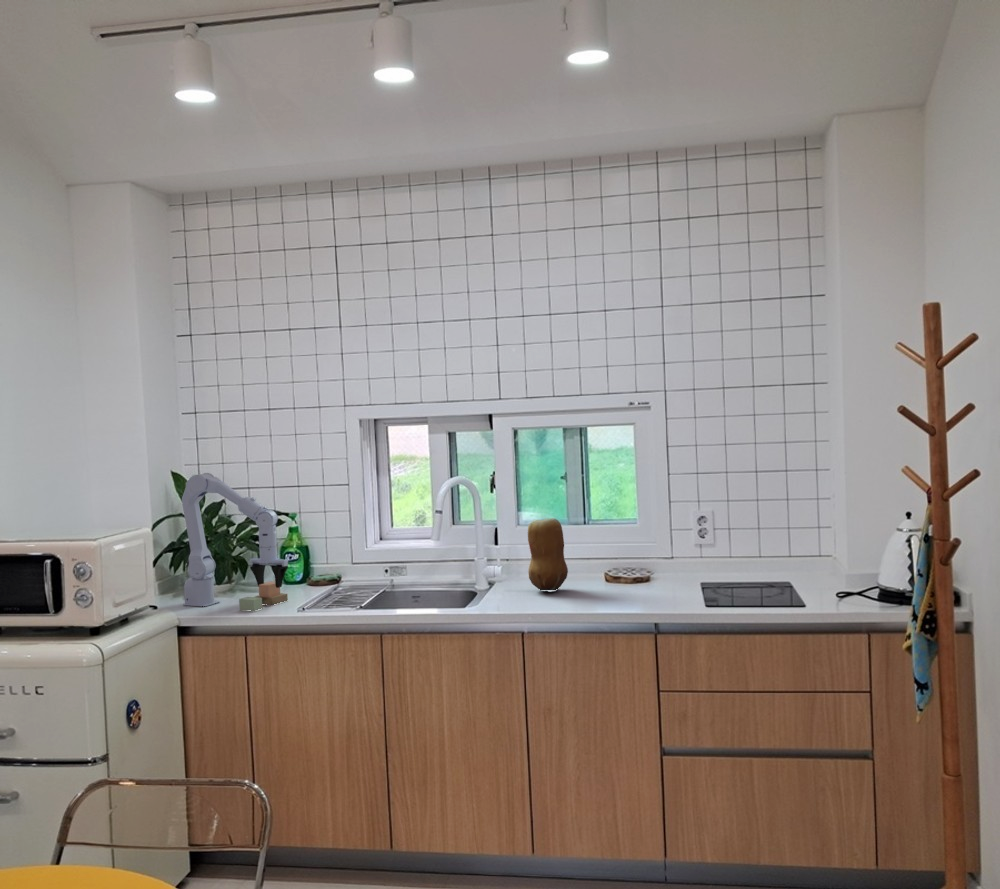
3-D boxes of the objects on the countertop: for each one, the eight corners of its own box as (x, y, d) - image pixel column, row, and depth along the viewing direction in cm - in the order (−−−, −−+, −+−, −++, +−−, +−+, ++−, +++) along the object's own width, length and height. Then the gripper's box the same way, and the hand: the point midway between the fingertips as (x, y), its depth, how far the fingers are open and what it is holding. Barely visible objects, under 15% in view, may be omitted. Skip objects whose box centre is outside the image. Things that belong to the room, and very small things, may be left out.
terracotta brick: (270, 593, 324) (270, 581, 324) (280, 594, 322) (279, 582, 322) (259, 596, 319) (258, 584, 319) (268, 597, 317) (268, 585, 317)
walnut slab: (253, 606, 319) (252, 597, 319) (268, 601, 326) (268, 592, 326) (272, 607, 315) (272, 598, 315) (287, 602, 323) (287, 593, 322)
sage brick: (239, 611, 309) (239, 599, 309) (247, 608, 313) (247, 596, 313) (254, 612, 307) (253, 600, 306) (262, 609, 310) (261, 597, 310)
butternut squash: (529, 588, 330) (526, 516, 329) (568, 587, 329) (565, 515, 328) (528, 596, 316) (526, 521, 315) (569, 595, 315) (567, 520, 315)
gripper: (243, 547, 320) (244, 587, 320) (277, 548, 313) (279, 589, 314) (257, 544, 326) (258, 584, 326) (291, 545, 320) (292, 586, 320)
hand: (269, 586), depth 320 cm, fingers open, 7 cm apart
